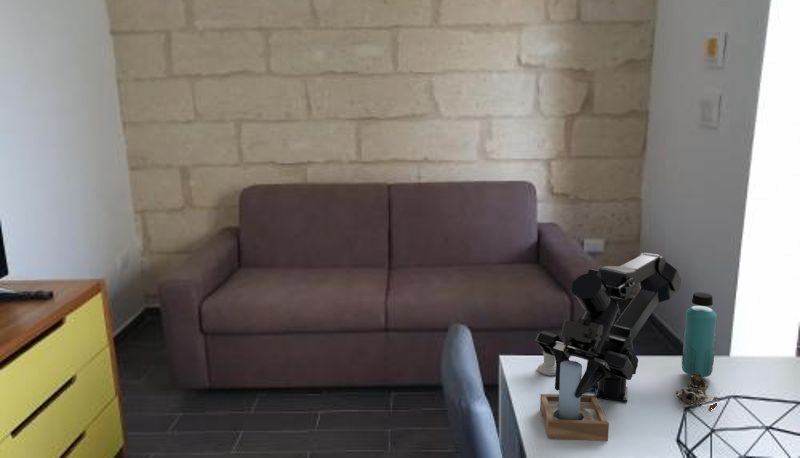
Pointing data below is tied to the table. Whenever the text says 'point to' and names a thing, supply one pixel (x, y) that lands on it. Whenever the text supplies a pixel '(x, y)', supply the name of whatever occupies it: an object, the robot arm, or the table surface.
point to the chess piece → (548, 365)
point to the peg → (569, 390)
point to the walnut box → (585, 428)
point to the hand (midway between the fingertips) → (566, 393)
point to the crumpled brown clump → (697, 392)
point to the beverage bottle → (699, 336)
